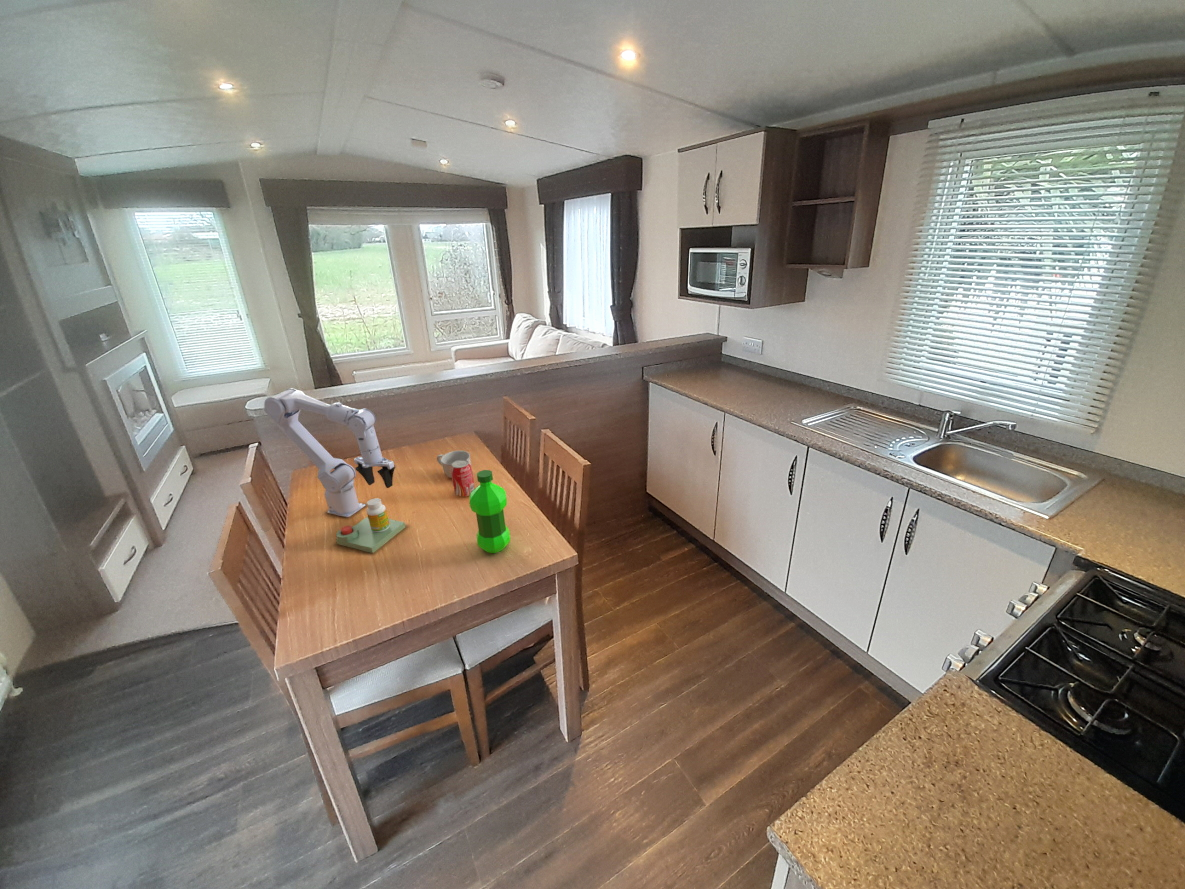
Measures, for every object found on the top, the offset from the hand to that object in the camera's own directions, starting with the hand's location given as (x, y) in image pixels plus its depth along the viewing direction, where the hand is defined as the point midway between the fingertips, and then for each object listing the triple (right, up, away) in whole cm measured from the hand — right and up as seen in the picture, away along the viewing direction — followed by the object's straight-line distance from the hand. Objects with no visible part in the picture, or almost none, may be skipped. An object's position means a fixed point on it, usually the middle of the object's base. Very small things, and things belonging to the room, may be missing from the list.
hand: (380, 485), depth 156 cm
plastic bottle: (+41, -17, -15) cm, 47 cm away
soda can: (+24, -4, +14) cm, 28 cm away
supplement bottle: (+3, -13, -7) cm, 15 cm away
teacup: (+17, +2, +28) cm, 32 cm away
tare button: (-5, -13, -11) cm, 18 cm away
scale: (+1, -15, -8) cm, 17 cm away
